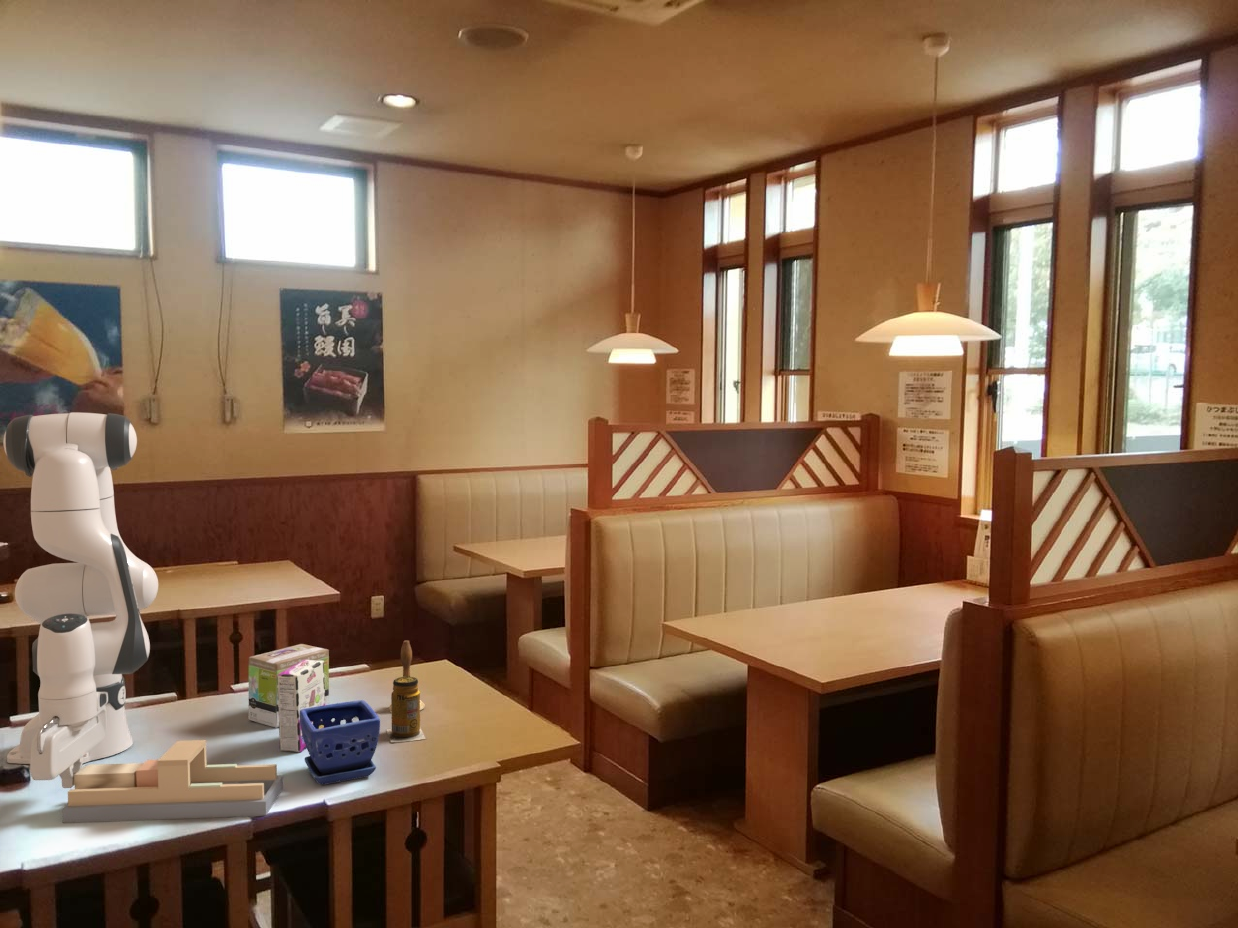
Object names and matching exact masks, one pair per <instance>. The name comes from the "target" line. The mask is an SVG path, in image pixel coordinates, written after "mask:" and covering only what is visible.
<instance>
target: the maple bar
mask: <svg viewBox="0 0 1238 928" xmlns="http://www.w3.org/2000/svg"><path fill="white" fill-rule="evenodd" d="M144 763H145V762H136V763H134V762H133V763H107V764H105V763H101V764H86V765H84V766H82V767H81V770H79V771H78V772H77V773H76V774H75V775H74V784H75V785H74V789H100V788H129V787H137V779H136V770H137V769H138V768H139V767H140V766H142V765H143V764H144Z"/></svg>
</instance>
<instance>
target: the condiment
mask: <svg viewBox="0 0 1238 928" xmlns="http://www.w3.org/2000/svg"><path fill="white" fill-rule="evenodd" d="M392 684H393V685H392V686H393V687H392V690H393V691H392V692H391V698H390V700H391V702H390V705H391V706H392V707H391V708H392V711H390V712H391V728H389V729H388V728H387V729H386V733H387V736H388V738H389V741H390V743H401V742H403V743H405V742H413V741H421V740H426V739H427V738H426V737H425V733H424V732H423V730H422V727H421V710H420V700H421V695H420V694H421V692H420V690H419V685H418V684H419V681H418V679H417V677H414V676H410V677H403V676H400V677H396V678H395V679H393V682H392Z"/></svg>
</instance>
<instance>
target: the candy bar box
mask: <svg viewBox="0 0 1238 928" xmlns="http://www.w3.org/2000/svg"><path fill="white" fill-rule="evenodd" d="M277 688H278V712H279V727H278V732H279V733H278V734H279V735H278V737H279V738H278V739H279V751H280V752H287V753H288V752H289V753H302V752H303V751H304V750H306V749H307V748H306V745H305V742H304V739H303V735H302V731H301V726H300V710H301V709H306V708H312V707H318V706H324V705H325V684H324V661H320V660H303V661H301V662H299V663H298V664H296V665H294V666H292V667H290V668H288V669H286V670H285V671H283V672H281V673H279V674H277ZM321 721H322V720H321ZM311 723H312V724H313V721H311ZM321 728H324V725H320V726H319V729H321Z"/></svg>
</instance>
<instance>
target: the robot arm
mask: <svg viewBox="0 0 1238 928" xmlns="http://www.w3.org/2000/svg"><path fill="white" fill-rule="evenodd" d="M137 445H138V437H137V432H136V430H135V428H134V426H133V424H132V421H131V420H130V419H129V418H128V417H127V416H126V415H122V414H118V413H111V412H108V413H107V414H103V413H97V412H96V413H94V412H76V411H75V412H69V413H68V412H67V413H51V414H42V415H41V414H40V415H33V414H28V415H23V416H17V417H14V418H13V419H12V420H11V421H10V422H9V423H8V424H7V427H6V429H5V433H4V435H3V448H4V452H5V455H6V457H7V460H8V462H9V463H10V464H11V466H13V467H14V468H15V469H16V470H19V471H22V472H24V473H25V475H26V476H27V477H28V478H29V477H30V478H32V480H31V492H30V518H31V519H30V520H31V521H30V522H31V527H32V528H31V529H32V535H33V538H34V541H36V543H37V545H38V546H39V547H40V548H41V549H43V550H44V551H45V552H48V553H49V554H50V555H53V556H54V557H57V558H60V559H63V560H66V561H71V562H64V563H62V562H61V563H51V564H45V565H40V566H36V567H32V568H27V569H26V570H25V571H24V572H23V573H22V574H21V576H20V577H19V578H18V580H17V581H16V585H15V589H14V597H15V602H16V605H17V606H18V608H19V609H20V611H21V612H22V613H23V614H25V615H26V617H30V618H31V619H33V620H34V621H36V622H37V623H39V624H40V626H39V631H38V637H37V638H36V639H35V640H34V641H33V642H32V647H31V652H32V672H34V673H35V675H37V676H38V677H39V680H40V684H39V685H40V687H39V690H38V693H37V697H38V713H37V714H36V715H35V716H34V717H33V718H31V719H30V720H29V721H28V722H27V723H26V724H25V726H23V729H22V731H21V735H20V739H19V744H17V745H16V746H15V747H13V748H12V749H11V750H10V751H9V752H8V753H7V757H6V762H7V763H8V764H19V765H21V764H25V765H30V766H29V767H30V769H29V772H30V777H31V779H32V780H33V781H51V780H54V779H56V778H57V777H58V776H59V777H60V779H61V787H62V788H63V789H72V787H75V784H74V775H75V774H76V773H77V772H78V771H79V770H81V769H82V768H83V764H85V763H88V762H91V761H95V760H99V759H103V758H108V757H111V756H114V755H117V754H119V753H122V752H124V751H126V750H127V749H129V748H131V747H132V746H133V744H134V739H133V737H132V734H131V732H130V729H129V725H128V720H127V715H126V709H125V705H126V692H127V691H126V683H125V677H124V676H123V675H132V674H133V673H135V672H136V671H138V670H139V669H140V668H141V667H142V666H143V665H145V663H147V661H148V660H149V656H150V650H151V644H150V639H149V633H148V632H147V629H146V627H145V624H144V622H143V620H142V616H141V613H140V610H144V609H147V608H149V607H150V606H151V605H152V604H153V602H154V601H155V599H156V598H157V594H158V592H159V578H158V575H157V574H156V572H155V570H154V569H153V567H152V566H151V565H149V564H148V563H147V562H145V561H143V560H142V559H140V558H139V557H137V556H136V555H135V554H134V553H133V552H132V551H131V550H130V549H129V548H128V547H127V545H126V544H125V543H124V541H123V539H122V537H121V535H120V532H119V529H118V522H117V517H116V508H115V507H116V506H115V492H114V483H113V476H112V471H116V470H118V468H120V467H123V466H126V465H127V464H129V463H130V462H131V461H132V460H133V459H134V454H135V452H136V450H137V447H138V446H137ZM111 470H112V471H111ZM103 615H104V616H106V615H107V616H108V615H115V618H114V619H113V620H110V621H104V622H103V621H101V622H92V623H91V621H90V619H89V617H90V616H103Z"/></svg>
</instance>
